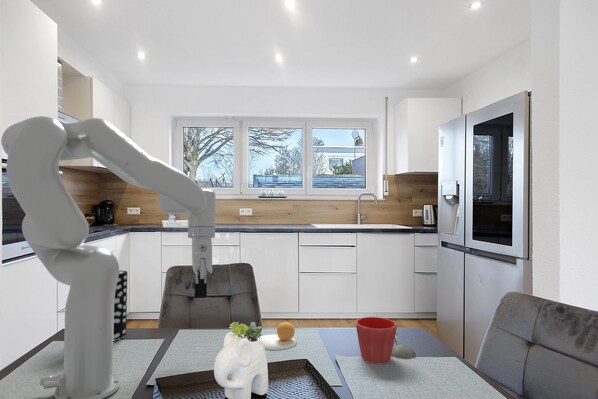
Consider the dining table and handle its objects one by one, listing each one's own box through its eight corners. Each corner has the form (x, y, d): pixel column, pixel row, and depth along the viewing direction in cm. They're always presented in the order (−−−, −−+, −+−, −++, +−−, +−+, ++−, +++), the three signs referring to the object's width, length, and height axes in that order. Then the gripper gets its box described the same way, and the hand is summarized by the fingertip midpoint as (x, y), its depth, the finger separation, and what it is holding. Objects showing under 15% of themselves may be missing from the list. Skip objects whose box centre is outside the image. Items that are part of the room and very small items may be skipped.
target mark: (258, 352, 107) (258, 351, 107) (249, 337, 119) (249, 336, 119) (302, 347, 111) (302, 346, 111) (288, 333, 123) (288, 332, 123)
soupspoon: (391, 363, 103) (416, 365, 103) (392, 350, 103) (417, 353, 103) (383, 333, 125) (403, 335, 124) (384, 323, 125) (404, 325, 124)
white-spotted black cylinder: (131, 333, 121) (132, 270, 122) (116, 343, 113) (117, 275, 113) (106, 332, 122) (108, 270, 123) (90, 341, 114) (91, 274, 114)
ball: (300, 332, 116) (288, 347, 114) (294, 327, 121) (282, 341, 119) (288, 321, 114) (276, 335, 113) (282, 316, 119) (270, 330, 118)
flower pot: (397, 368, 97) (397, 329, 97) (354, 364, 99) (354, 326, 100) (395, 352, 108) (395, 318, 108) (356, 349, 110) (356, 315, 110)
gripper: (218, 234, 103) (217, 302, 102) (212, 230, 117) (211, 290, 116) (189, 234, 100) (188, 304, 100) (186, 231, 114) (185, 292, 114)
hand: (200, 297), depth 108 cm, fingers closed
